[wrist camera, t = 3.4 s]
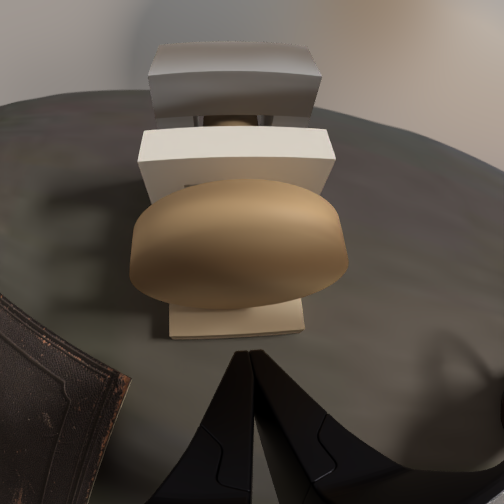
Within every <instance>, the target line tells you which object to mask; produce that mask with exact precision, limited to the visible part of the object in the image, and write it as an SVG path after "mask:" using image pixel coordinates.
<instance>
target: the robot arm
mask: <svg viewBox="0 0 504 504" xmlns="http://www.w3.org/2000/svg"><path fill="white" fill-rule="evenodd" d="M254 417H255V421H256V425H257V429H258V433H259V436H260V440H261V443H262V447H263V450H264V454H265V457H266V461H267V464H268V468H269V471H270V474H271V478H272V481H273V484H274V488H275V491H276V494H277V497H278V501H279V504H504V461H502V462H501V463H500V464H498V465H497V466H495V467H493V468H490V469H487V470H483V471H475V472H445V471H426V470H415V469H410V468H407V467H404V466H402V465H399V464H397V463H396V462H394V461H392V460H391V459H389V458H387V457H386V456H384V455H383V454H381V453H380V452H378V451H377V450H375V449H374V448H372V447H370V446H369V445H367V444H366V443H364V442H363V441H362V440H360V439H359V438H357V437H356V436H355V435H353V434H352V433H351V432H349V431H348V430H347V429H345V428H344V427H343V426H342V425H341V424H340V423H338V422H337V421H336V420H335V419H334V418H333V417H332V416H331V415H330V414H327V412H326V411H325V410H324V409H323V408H322V407H321V406H320V405H319V404H318V403H317V402H316V401H315V400H313V399H312V398H311V397H310V396H309V395H308V394H307V393H306V392H305V391H304V390H303V389H302V388H301V387H300V386H299V385H298V384H297V383H296V382H295V381H294V380H293V379H292V378H291V377H290V376H289V375H288V374H287V373H286V372H285V371H284V370H283V369H282V368H281V367H280V366H279V365H278V364H277V363H276V362H275V361H274V360H273V359H272V358H271V357H270V356H269V355H268V354H267V353H266V352H265V351H264V350H261V349H260V350H250V351H249V352H248V351H247V350H245V351H236V352H235V353H234V355H233V357H232V359H231V361H230V363H229V365H228V367H227V369H226V371H225V374H224V376H223V378H222V380H221V382H220V384H219V386H218V388H217V390H216V392H215V394H214V396H213V399H212V401H211V403H210V405H209V407H208V409H207V411H206V413H205V415H204V417H203V419H202V421H201V423H200V426H199V427H198V429H197V431H196V433H195V435H194V437H193V439H192V440H191V442H190V444H189V446H188V448H187V449H186V451H185V452H184V454H183V455H182V457H181V458H180V460H179V461H178V463H177V464H176V465H175V467H174V468H173V469H172V471H171V472H170V473H169V475H168V476H167V477H166V479H165V480H164V481H163V483H162V484H161V485H160V487H159V488H158V489H157V490H156V492H155V493H154V494H153V495H152V497H151V498H150V499H149V500H148V501H147V502H146V503H145V504H252V483H253V442H254Z"/></svg>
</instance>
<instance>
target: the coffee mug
mask: <svg viewBox="0 0 504 504" xmlns="http://www.w3.org/2000/svg"><path fill="white" fill-rule="evenodd" d="M501 420H502V425H503V428H504V393H503V397H502V403H501Z"/></svg>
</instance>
